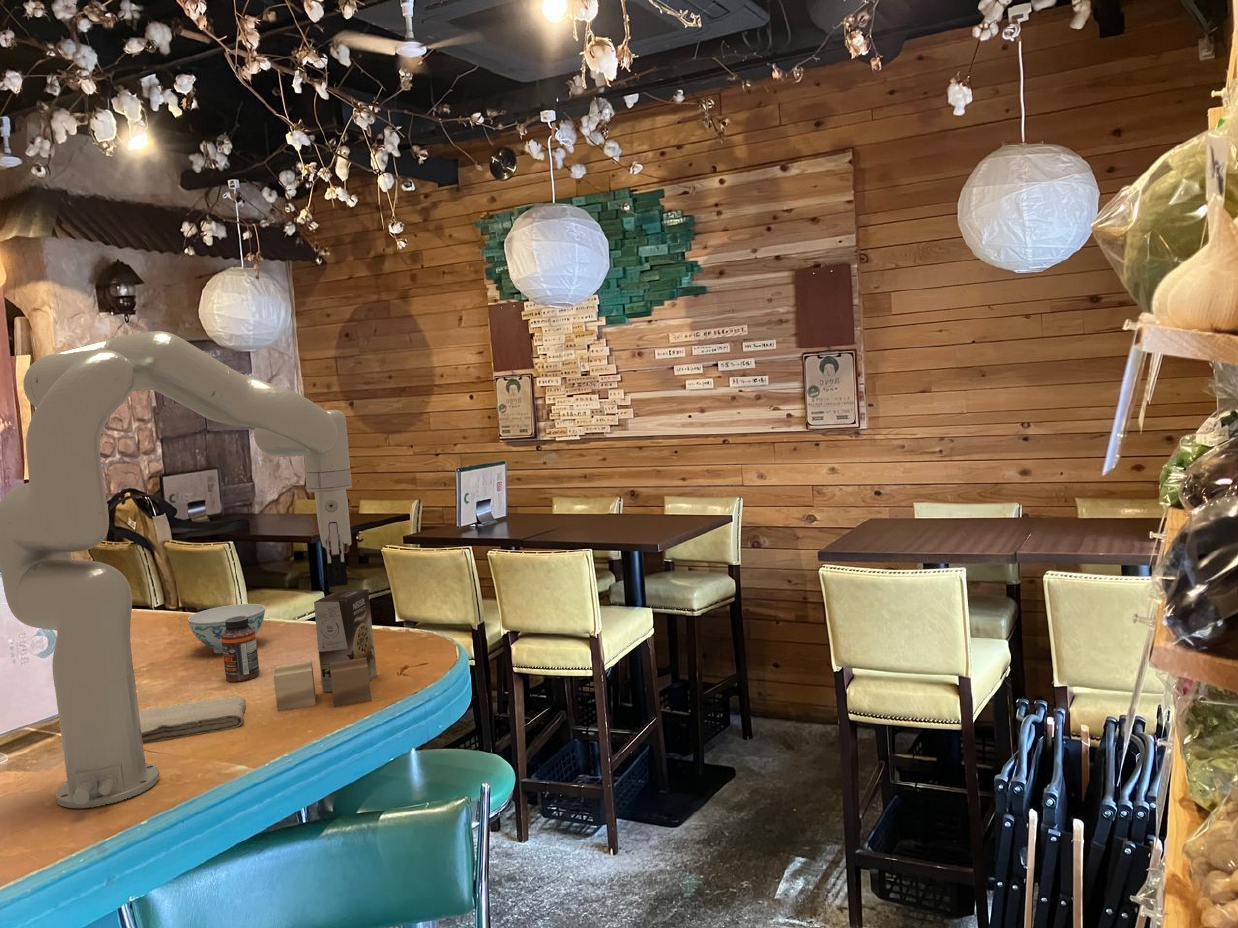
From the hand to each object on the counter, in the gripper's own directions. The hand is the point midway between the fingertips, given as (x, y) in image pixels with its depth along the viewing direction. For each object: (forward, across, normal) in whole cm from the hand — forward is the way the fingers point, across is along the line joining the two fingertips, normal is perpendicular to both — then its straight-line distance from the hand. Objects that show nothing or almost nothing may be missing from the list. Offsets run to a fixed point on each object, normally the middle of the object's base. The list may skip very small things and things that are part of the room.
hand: (338, 584), depth 172 cm
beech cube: (+18, -5, +8) cm, 21 cm away
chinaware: (+18, +40, +22) cm, 49 cm away
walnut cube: (+18, -8, -1) cm, 20 cm away
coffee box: (+18, +1, -1) cm, 18 cm away
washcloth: (+19, -8, +25) cm, 33 cm away
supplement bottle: (+18, +16, +18) cm, 30 cm away
